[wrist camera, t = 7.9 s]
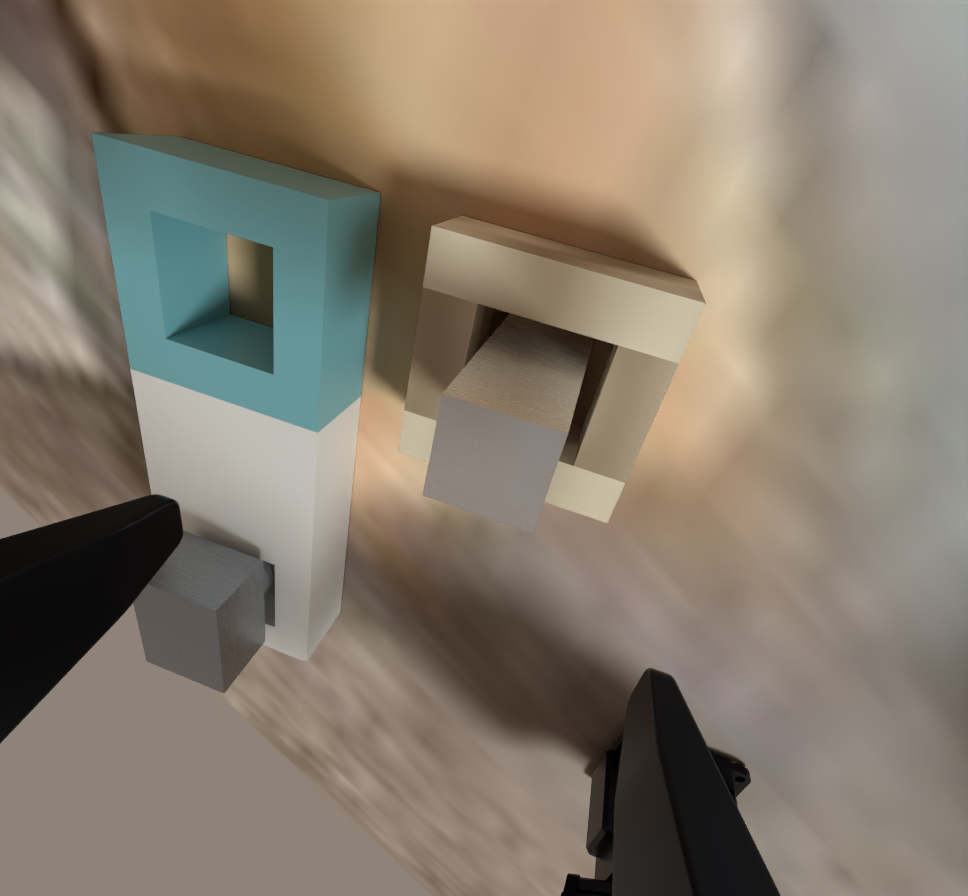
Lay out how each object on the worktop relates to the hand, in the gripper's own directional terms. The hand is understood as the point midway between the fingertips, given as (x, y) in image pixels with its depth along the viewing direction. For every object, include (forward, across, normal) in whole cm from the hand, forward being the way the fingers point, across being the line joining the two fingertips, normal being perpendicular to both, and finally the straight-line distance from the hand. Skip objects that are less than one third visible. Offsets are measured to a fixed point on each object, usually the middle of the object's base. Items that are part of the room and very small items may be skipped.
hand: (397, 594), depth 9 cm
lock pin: (+12, -1, 0) cm, 12 cm away
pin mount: (+12, -1, 0) cm, 12 cm away
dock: (+12, +11, +7) cm, 18 cm away
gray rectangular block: (+12, +11, +13) cm, 21 cm away
